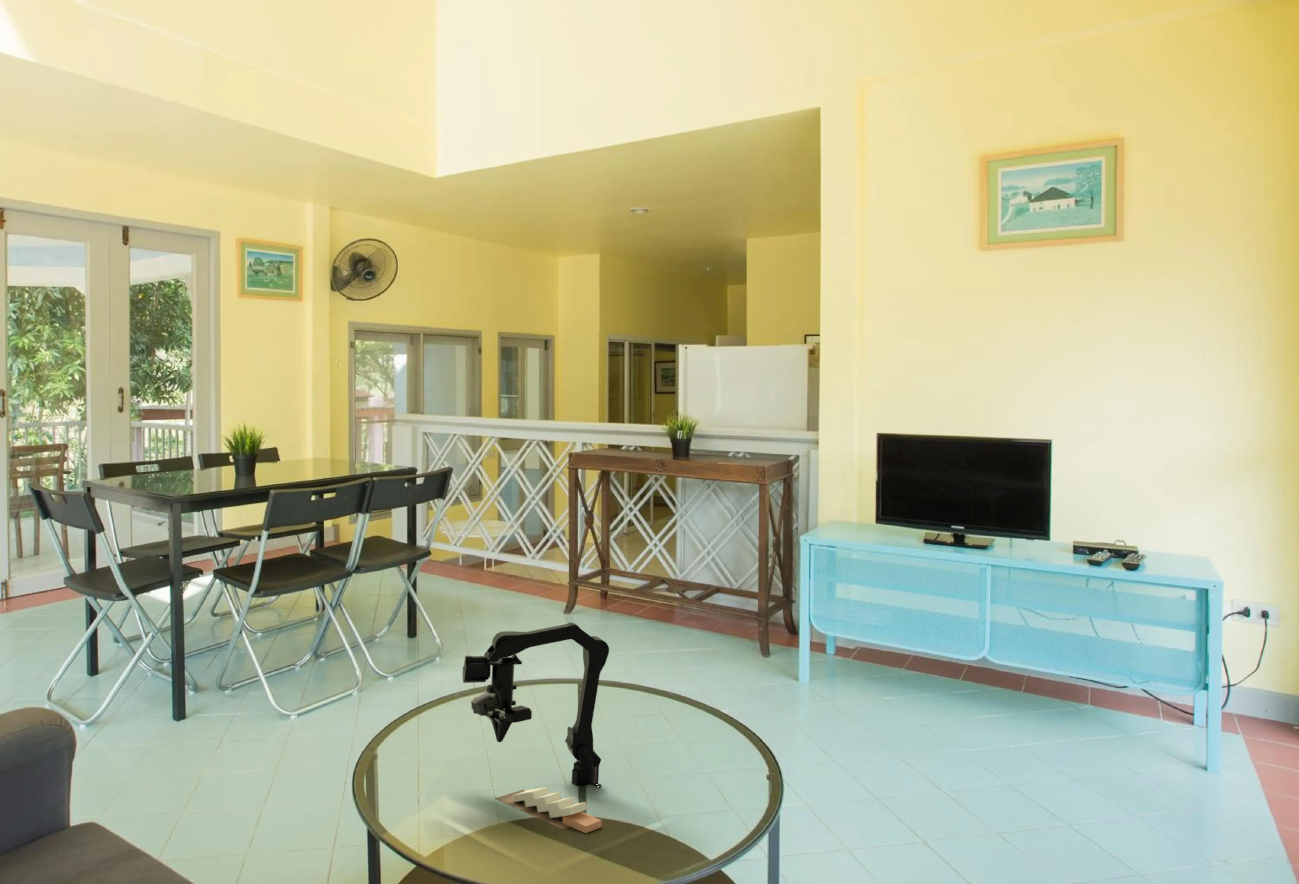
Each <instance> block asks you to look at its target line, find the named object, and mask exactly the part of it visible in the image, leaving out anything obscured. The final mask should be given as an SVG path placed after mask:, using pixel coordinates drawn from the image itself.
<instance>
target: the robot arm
mask: <svg viewBox="0 0 1299 884" xmlns="http://www.w3.org/2000/svg"><path fill="white" fill-rule="evenodd" d="M568 640H573V641H574V642H576V643H577V645H579V646H581V647H582V659H583V667H584V671H583V677H582V682H581V683H582V684H581V689H580V696H579V701H578V706H577V712H576V713H577V714H576V719H575V723H574V724H573V726H572V727H570V726H567V731H566V732H567V735H566V738H565V740H564V742H565V743H566V747H567V749H568V751H569V752H570V753H571V755H572V756H573V757H574V760H575V762H573V768H572V770H571V784H573V785H575V786H576V787H577V786H579V787H580V786H592V787H594V786H595V788H597V786H602V784H601V783H599V776H600V775H599V773H600V772H599V771H600V763H601V761H602V758H601V757H600V756H599V755H598V754H597V753H596V751H595V750H594V736H593V735H594V734H593V718H594V712H595V707H596V701H597V700H596V699H597V695H598V694H597V693H598V687H599V682H600V677H601V672H602V671H603V668H604V666H605V665H606V662H607V659H608V657H609V655H610V654H609V653H610V647H609V645H608V643H607V642H606V641H605V640H603V639H602V638H601V637H599V636H597V635H589V634H588V633H587V632H585V631H584V630H583V629H582V628H581V627H580V626H579V625H578V624H576V623H575V622H567V623H565V624H561V625H555V626H549V627H544V628H540V629H539V628H538V629H534V630H529V631H514V630H513V631H509V630H507V631H506V630H505V631H500V632H497V633H495V634H494V636H493V638H492V641H491V645H490V646H489V647H488V648H487V650H486V651H485V652H484V654H483V655H464V661H463V666H462V683H463V684H469V683H470V684H471V683H472V684H473V683H486V681H487V680H489V679H490V678H491V682H490V683H491V684H488V685H487V687H486V692H484V693H482V694H480V695H478V696H475V697H474V698H473V699H472V700H471V701H470V704H471V709H472V712H473V714H475V715H476V714H477V715H479V716H481V717H487V719H489V720H490V722H491V725H492V727H493V731H494V734H495V738H496V742H497V743H502V742H503V740H504V739H505V737H506V736H507V733H508V731H509V730H510V729H509V728H510V727H511V725H513V723H521V722H524V721H528V720H532V718H533V717H532V715H533V711H532V710H531V709H532V708H530V707H527V706H523V705H518V706H517V705H516V704H517V700H513V698H514V690H517V687H518V686H517V685H516V684H514V677H515V666H516V665H522V664H523V661H522V660H521V659H520V658H519V656H518V655H517V654H519V653H521V652H523V651H525V650H527V649H529V648H534V647H539V646H544V645H547V644H549V645H550V644H553V643H557V642H561V641H562V642H564V641H568ZM598 783H599V784H598ZM596 784H598V785H596Z"/></svg>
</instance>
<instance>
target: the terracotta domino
mask: <svg viewBox="0 0 1299 884" xmlns="http://www.w3.org/2000/svg"><path fill="white" fill-rule="evenodd" d="M602 822H603V821H602V820H601V819H600V818H597V817H595V816H593V815H590V814H587V813H586V812H583V811H581V812H578V813H575V814H573V815H567V816H563V821H562V823H564V824H566V825H568V826H570V828H573V829H576V830H577V831H580V832H582V833H584V834H587V833H590V832H592V831H595V830H598V829H601V828H602Z"/></svg>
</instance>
